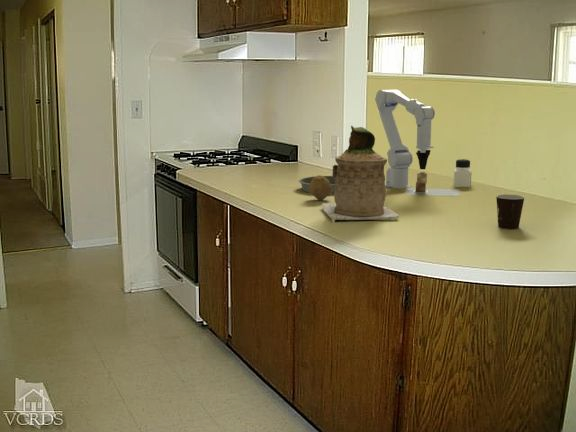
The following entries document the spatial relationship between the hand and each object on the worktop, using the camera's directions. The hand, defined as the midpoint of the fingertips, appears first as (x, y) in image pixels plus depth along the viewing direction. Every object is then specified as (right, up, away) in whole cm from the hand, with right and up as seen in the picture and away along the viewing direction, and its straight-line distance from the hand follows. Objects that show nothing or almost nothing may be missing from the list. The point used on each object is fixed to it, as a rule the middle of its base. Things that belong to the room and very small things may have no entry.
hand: (423, 168), depth 271 cm
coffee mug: (+14, -24, -62) cm, 68 cm away
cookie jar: (-31, -20, -39) cm, 54 cm away
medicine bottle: (+21, -7, +16) cm, 27 cm away
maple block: (0, -6, +1) cm, 6 cm away
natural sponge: (-44, -14, -12) cm, 48 cm away
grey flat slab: (+4, -10, 0) cm, 11 cm away
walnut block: (-1, -10, +1) cm, 10 cm away
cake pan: (-40, -9, +12) cm, 43 cm away
